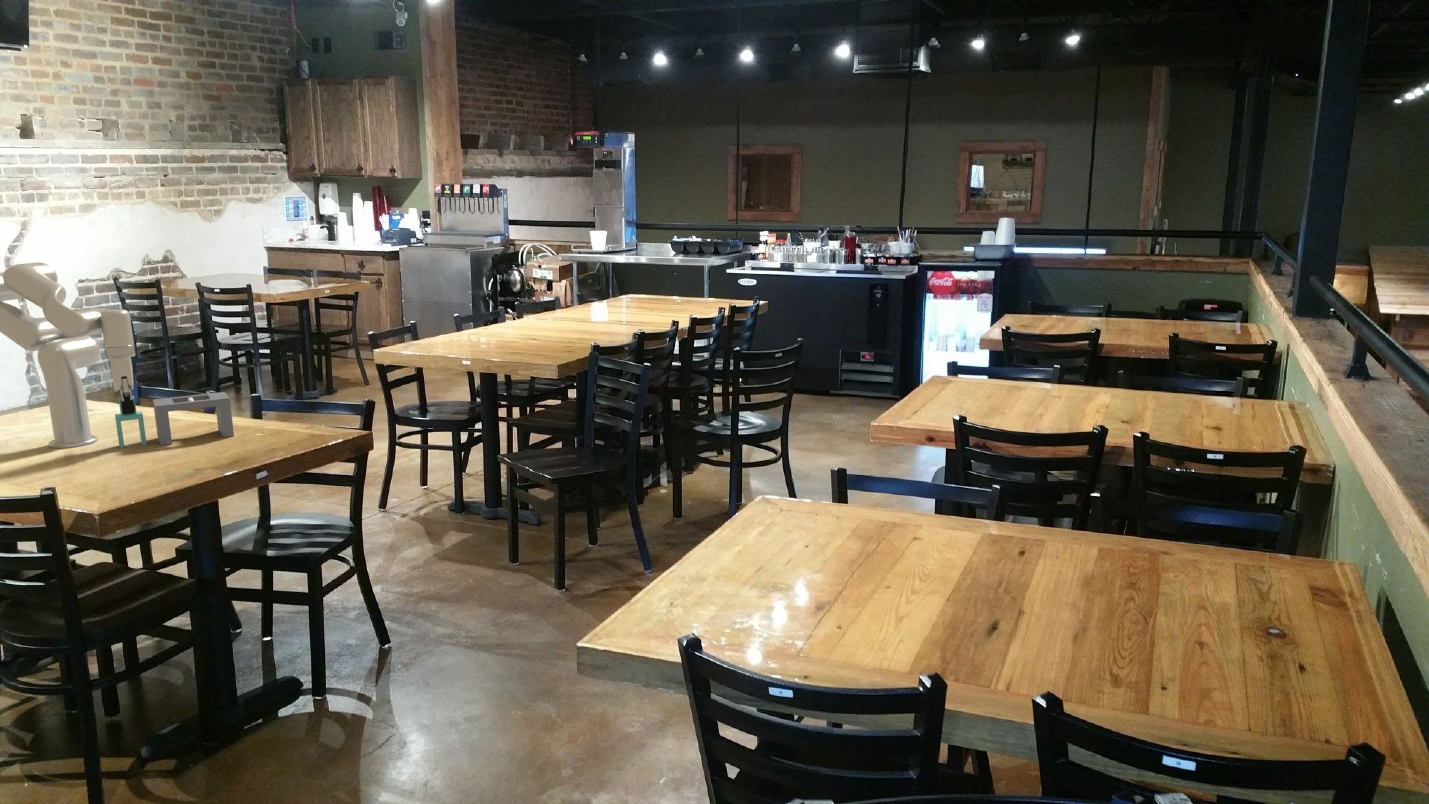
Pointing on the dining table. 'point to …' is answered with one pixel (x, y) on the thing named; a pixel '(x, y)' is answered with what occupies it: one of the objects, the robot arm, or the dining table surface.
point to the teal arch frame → (129, 417)
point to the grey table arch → (191, 403)
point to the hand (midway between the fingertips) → (128, 411)
